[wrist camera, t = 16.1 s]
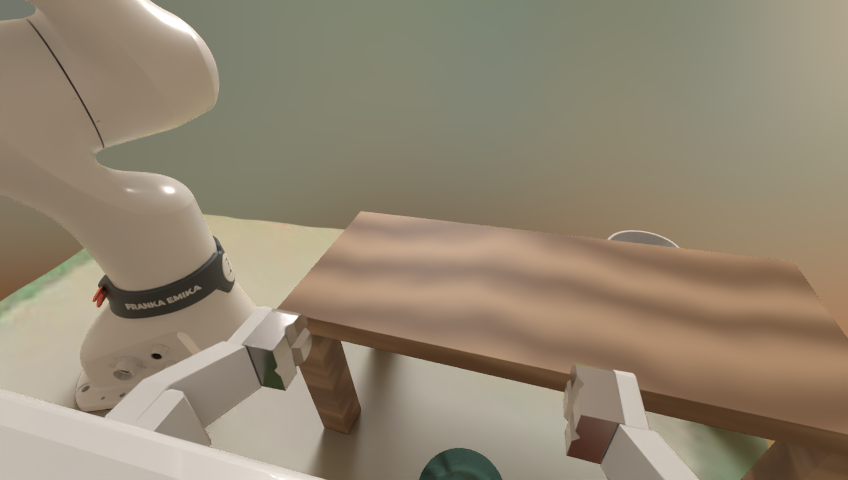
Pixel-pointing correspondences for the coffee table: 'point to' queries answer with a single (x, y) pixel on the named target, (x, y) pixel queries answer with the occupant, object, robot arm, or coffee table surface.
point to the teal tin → (460, 466)
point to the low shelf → (588, 327)
